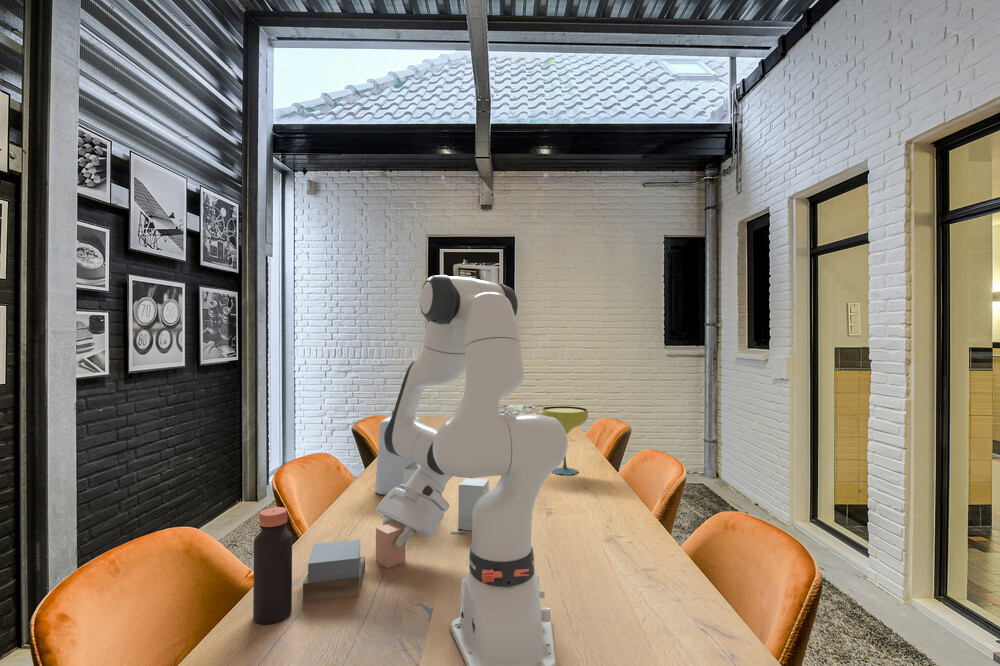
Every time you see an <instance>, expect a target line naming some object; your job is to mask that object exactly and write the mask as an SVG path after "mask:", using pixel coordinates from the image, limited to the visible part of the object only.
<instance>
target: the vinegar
mask: <svg viewBox="0 0 1000 666" xmlns="http://www.w3.org/2000/svg"><path fill="white" fill-rule="evenodd" d="M258 520H259V528H260V529H261V530H260V532H259V533H258V534H257V535H256V536H255V537H254V539H253V591H252V593H253V599H252V600H253V602H252V603H253V605H252V606H253V607H252V608H253V609H252V611H253V612H252V614H253V615H252V617H253V621H254V622H255V623H257V624H260V625H271V624H276V623H279V622H281V621H283V620H285V619H287V618H288V617H289V616H290V615H291V613H292V611H293V609H292V608H293V606H292V604H293V603H292V602H293V534H292V532H291V531H290V530H289V529H287V528H286V526H287V524H288V509H287V508H286V507H283V506H273V507H270V508H269V507H268V508H266V509H263V510H261V511H260V512H259V519H258Z"/></svg>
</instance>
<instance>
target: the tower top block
mask: <svg viewBox="0 0 1000 666" xmlns="http://www.w3.org/2000/svg"><path fill="white" fill-rule="evenodd" d="M360 557H361V539H350V540H349V539H348V540H338V541H336V540H335V541H328V542H317V543H316V542H315V543H313V545H312V548H311V552H310V555H309V560H308V563H307V565H308V566H307V574H308V583H315V582H323V581H332V580H340V579H349V578H357V577H359V568H360Z"/></svg>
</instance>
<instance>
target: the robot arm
mask: <svg viewBox="0 0 1000 666" xmlns="http://www.w3.org/2000/svg"><path fill="white" fill-rule="evenodd" d="M421 287H422V288H421V291H420V295H419V308H420V312H421V314H422V315H423V316H424V318H425V319H426V320H427V321H428V322H427V323H428V324H427V327H426V330H425V335H424V339H423V345H422V349H421V352H420V354H419V356H418V358H417V359H414V360H412V362H410V365H409V366H408V368H407V370H406V372H405V375H404V377H403V380H402V383H401V387H400V389H399V393H398V395H397V400H396V402H395V406H394V409H393V410H394V412H393V415H392V414H391V416H390V417H391V419H390V421H389V423H388V425H387V427H386V430H385V433H384V442H385V446H386V449H387V450H388V452H390V453H392V454H394V455H397V456H400V457H403V458H405V459H407V460H409V461H411V462H413V463H415V464H418V465H420V467H419V468H418V469H417V470H416V471H415V472H414V473H413V475H412V476H411V478H410V479H409V481H408V482H407V483H406V485H404V484H400V485H399V486H396V487H395V488H393V489H392V490H391V491H389V493H388V494H387V495H384V497H383V499H382V500H381V501H380V502H379V503H378V504H377V507H376V512H377V513H378V514H379V516H381V517H383V518H384V520H383V522H382V525H381V526H383V525H387V524H390V523H393V522H394V523H397V524H399V525H401V526H403V527H405V528H404V532H403V533H402V534H401V535H400V536H399V537H398V536H396V537H395V540H393V544H394V545H395V546H397V547H399V548H400V547H401V546H402V544H403V543H404V541H405V542H406V541H408V540H409V539H410V538H412V537H413V535H414V533H415V534H418V535H420V536H422V537H424V538H426V539H427V538H429V537H431V536H432V535H433V534H434V533H435V531H436V530H437V528H438V527H439V525H440V524H441V521H442V520H443V518H444V512H445V513H446V512H447V511H448V510H449V508H450V507H451V506H450V503H449V502H448V500H447V499H446V498H444V496H443V494H442V493H443V492H444V490H445V488H446V485H447V483H448V482H449V481H450V480H451V479H452V478H453V477H457V478H464V479H465V478H473V479H479V478H485V477H486V478H488V477H497V476H499V477H500V478H499V479H498V482H497V484H496V485H495V486H494V487H493V488H492V489H491V490H490V491H489V492H488V493H486V494H485V495H483V496H482V497H481V498H480V499H479V500H478V501H477V503H476V504H475V506H474V509H473V512H472V531H471V540H472V541H471V546H470V548H469V555H468V563H469V565H468V566H469V572H468V574H467V575H466V576H465V577H464V578H463V579H462V580H461V588H460V610H459V611H460V613H459V614H460V615H459V617H456V618H454V619H453V620H452V621H451V623H450V631H451V633H452V636H453V638H454V640H455V643H456V645H457V647H458V648H459V651H460V653H461V656H462V658H463V660H464V663H465V665H466V666H557V661H556V659H557V658H556V652H555V651H556V650H555V642H554V636H553V627H552V626H553V625H552V619H551V608H550V607H549V606H543V605H541V599H545V595H546V594H545V590H544V589H540V575H539V574H538V573H537V572H535V554H534V548H533V546H532V527H533V515H534V514H533V513H534V507H535V503H536V499H537V497H538V494H539V493H540V490H541V488H542V487H543V485H544V483H545V481H546V480H547V478H548V477H549V476H550V474H552V471H553V470H554V469H555V468H559V467H560V465H562V463H563V462H564V458H565V456H566V457H567V452H568V448H569V447H568V446H569V445H568V443H569V442H568V434H567V435H566V432H565V430H564V428H563V426H562V424H561V423H560V422H559V421H558V420H557V419H556V418H554V417H549V416H544V415H542V414H537V413H536V414H535V413H525V414H523V413H522V414H521V413H520V414H507V415H506V414H505V415H502V414H499V405H500V402H501V400H503V399H506V398H508V397H509V396H510V395H512V394H513V393H515V392H516V391H518V389H520V388H521V386H522V383H523V382H524V381H523V380H524V368H523V358H522V348H521V340H520V335H519V329H518V327H519V326H518V324H517V323H518V322H517V318H516V317H517V313H518V302H519V301H518V298H517V295H516V293H515V290H514V289H513V288H511V287H510V286H507V285H505V284H503V283H501V282H492V281H487V280H483V279H478V278H474V277H470V276H460V275H459V276H455V275H453V276H452V275H451V276H449V275H447V274H439V275H438V274H437V275H432V276H431V275H430V277H428V278H427V279H426V280H425V281H424V283H423V285H422V286H421ZM464 372H465V387H464V392H463V394H462V395H463V396H462V399H461V401H460V402H459V404H458V406H457V408H456V409H455V411H454V412H453V414H451V416H450V417H449V418H448V419H447V420H445V421H444V422H443V423H442V424H441V425H440V426H439V427H438V428H435V427H432V426H429V425H428V424H425V423H423V422H421V423H420V422H419V421H418V420H417V419H416V417H417V416H416V412H417V409H418V406H419V403H420V401H421V400H420V399H421V397H422V394H423V392H424V390H425V388H426V387H427V386H429V385H430V386H431V385H443V384H447V383H450V382H453V381H455V380H457V379H459V378H460V376H461V375H463V374H464Z"/></svg>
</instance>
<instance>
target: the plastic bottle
mask: <svg viewBox="0 0 1000 666" xmlns="http://www.w3.org/2000/svg"><path fill="white" fill-rule="evenodd" d="M393 412H394V409H393V410H392V411H391V416H389V417H386V418H384V419H383V420H381V421H380V422H379V433H378V434H379V435H378V446H377V447H378V448H377V460H376V470H375V471H376V473H375V474H376V475H375V487H374V488H375V489H374V490H375V493H377V494H378V495H380V494H381V495H382V496H386V495H387V494H388V493H389V491H391V490H392V489H393V488H395V487H396V486H399V485H400V484H404V468H405V467H407V466H408V465H409V464H410V463H411V461H409V460H407V459H405V458H403V457H400V456H397V455H394V454H392V453H390V452H388V450H387V449H386V446H385V442H384V433H385V430H386V427H387V425H388V423H389V421H390V419H391V417H392V415H393ZM416 419H417V420H418V421H419V422H420V423H422V422H421V418H419V416H416ZM381 495H380V496H381Z"/></svg>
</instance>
